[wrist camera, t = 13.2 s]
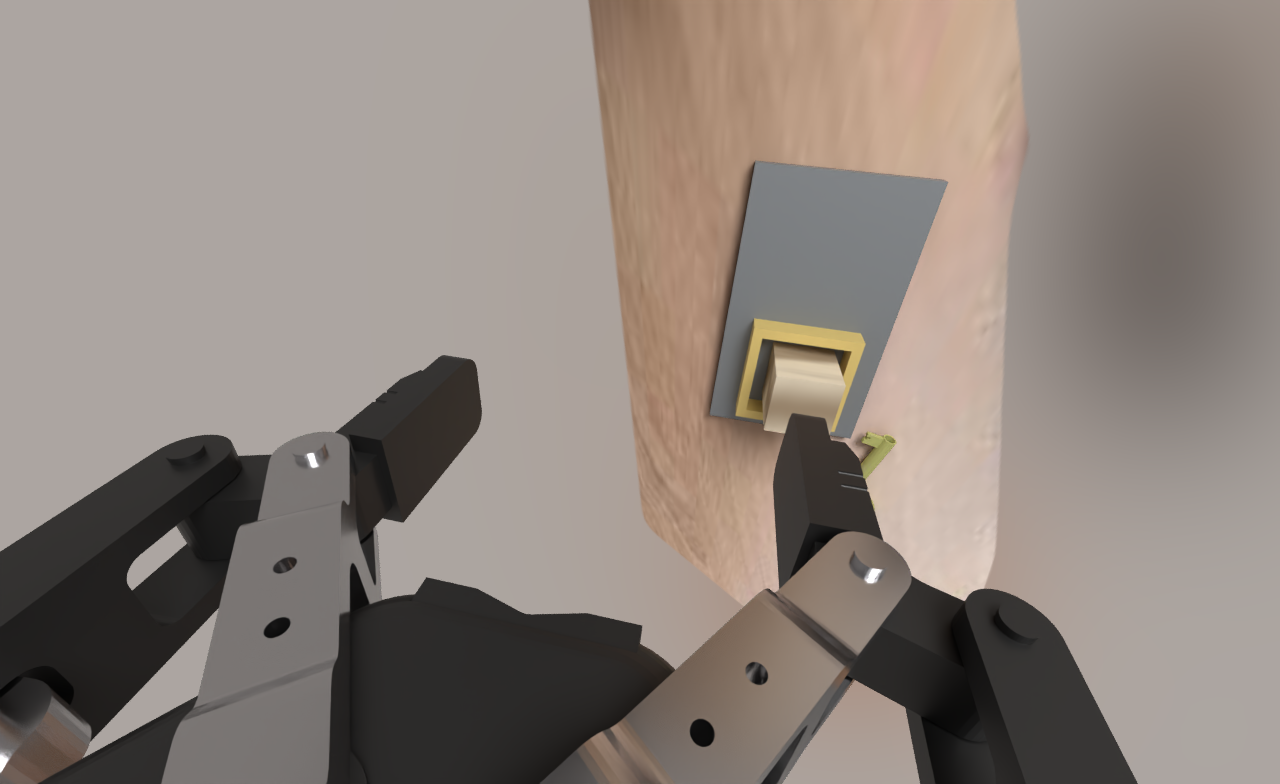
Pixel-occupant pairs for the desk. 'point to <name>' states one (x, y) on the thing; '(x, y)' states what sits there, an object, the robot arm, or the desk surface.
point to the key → (876, 451)
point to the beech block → (801, 385)
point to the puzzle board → (820, 276)
